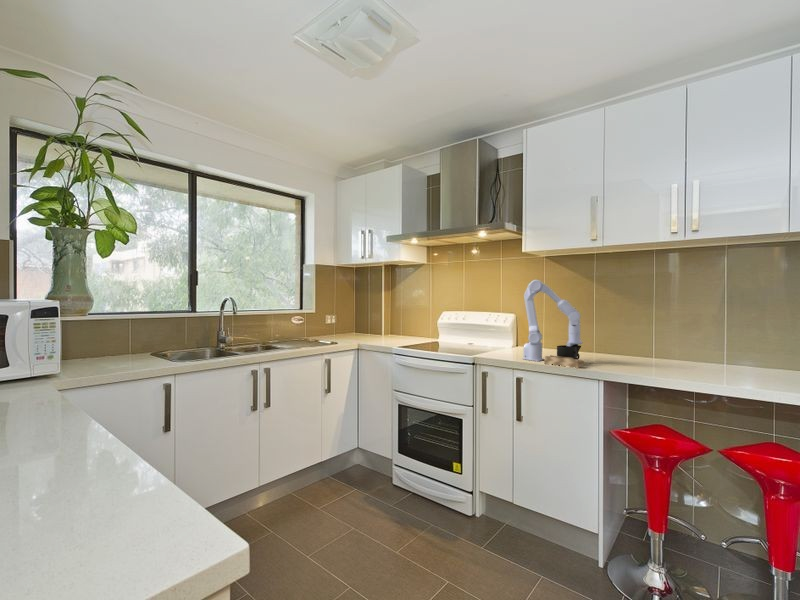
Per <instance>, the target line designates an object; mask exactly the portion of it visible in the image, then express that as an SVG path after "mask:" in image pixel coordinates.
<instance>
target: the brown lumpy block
mask: <svg viewBox="0 0 800 600" xmlns="http://www.w3.org/2000/svg"><path fill="white" fill-rule="evenodd" d="M544 359H545V360H544V365H548V364H553V365H552V366H556V365H561V366H560V367H563V366H570V367H569V368H571V367H575V368H574V369H579V367H581V368H583V367H584V360H582V359H578V360H577V359H574V358H569V357H560V356H557V355H552V354H551V355H545V356H544ZM582 366H583V367H582Z"/></svg>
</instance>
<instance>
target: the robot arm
mask: <svg viewBox="0 0 800 600" xmlns="http://www.w3.org/2000/svg"><path fill="white" fill-rule="evenodd" d="M538 293H543V294H546V295H547V296H548V297H549V298H550V299H551V300H553V301H554V302H555V303H556V306H557V309H559V311H561V312H562V314H564V315H565V316H567V318H568V340H567V342H566V345H567V346H575V347H577V352H578V353H579V351H580V349H581V348H582V344H583V340H581V313H580V312H579V311H578V310H577V308H576V307H573V306H572V305H571V304H570V301H569V300H566V299H562V298H561V297H560V296H559V295H557V294H556V293H555V291H554V290H553V289H551V288H550V287H549V286H548V285H547V284H545V283H544V282H543V281H542V280H539V279H533V280H532V281H530V283H528V284H527V287H526V289H525V291H524V294H523V298H524V299H523V300H524V304H525V305H524V306H525V310H526V316H527V323H528V333H529V334H528V338H527V339H528V341H529V342H528V343H527V342H525V343H524V345H523V349H522V351H523V353H522V354H523V358H522V360H525V361H534V362H541V361H545V358H543V342H541V341H542V339H543V335H542V333H541V331H540V328H539V324H538V318H537V313H536V312H537V311H536V305H535V300H534V297H535V296H536V295H537V294H538ZM577 357H578V355H577Z"/></svg>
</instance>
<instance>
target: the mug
mask: <svg viewBox="0 0 800 600" xmlns="http://www.w3.org/2000/svg"><path fill="white" fill-rule="evenodd" d="M577 355H578V356H577ZM556 356H560V357H569V358H574V359H577V360H580V354H579V352H577V347H575V346H567V344H566V345H565V344H564V345H560V344H559V345H556Z"/></svg>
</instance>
